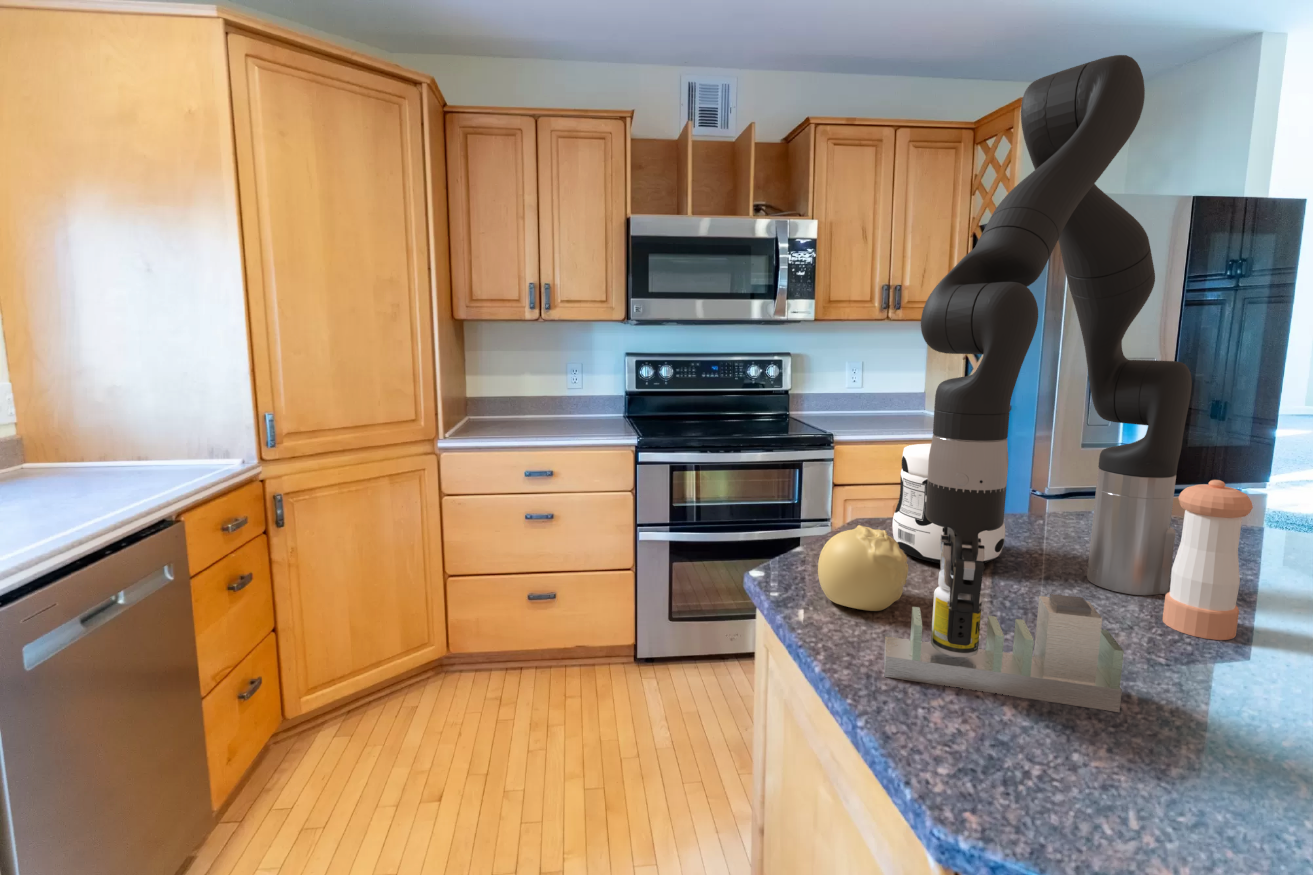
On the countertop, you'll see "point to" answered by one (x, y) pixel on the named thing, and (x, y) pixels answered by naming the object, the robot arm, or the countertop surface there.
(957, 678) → the desk organizer
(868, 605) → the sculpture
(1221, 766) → the countertop surface
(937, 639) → the supplement bottle
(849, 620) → the countertop surface
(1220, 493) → the salt shaker
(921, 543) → the milk container
